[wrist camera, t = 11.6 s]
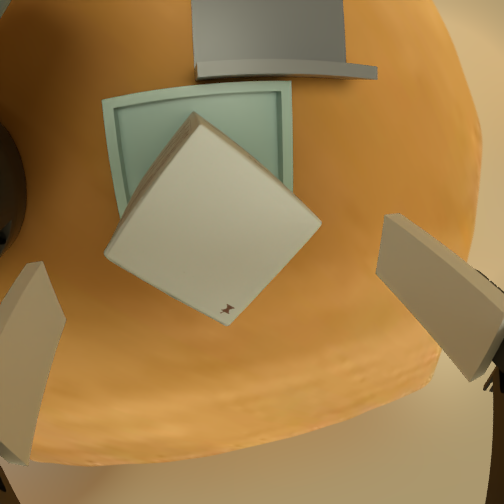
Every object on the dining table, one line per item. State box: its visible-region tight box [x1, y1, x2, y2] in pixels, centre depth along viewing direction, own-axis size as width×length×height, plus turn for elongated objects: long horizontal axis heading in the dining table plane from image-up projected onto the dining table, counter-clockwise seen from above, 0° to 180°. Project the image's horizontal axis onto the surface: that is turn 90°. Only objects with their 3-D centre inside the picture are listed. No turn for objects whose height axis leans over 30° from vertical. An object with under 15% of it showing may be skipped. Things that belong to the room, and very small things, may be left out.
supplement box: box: [104, 111, 322, 326], centre depth 19 cm, size 7×7×13 cm
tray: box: [102, 81, 293, 219], centre depth 24 cm, size 14×14×2 cm
